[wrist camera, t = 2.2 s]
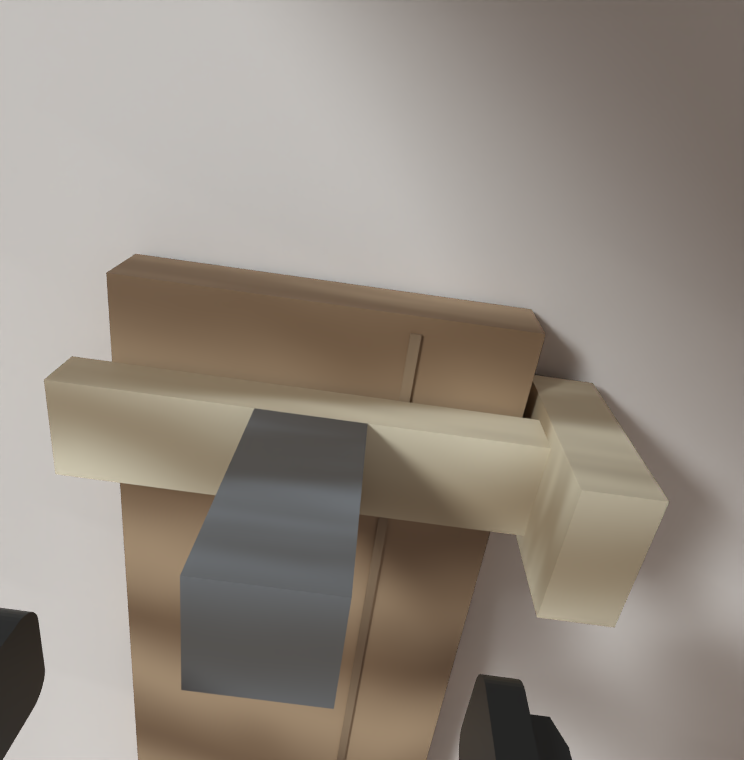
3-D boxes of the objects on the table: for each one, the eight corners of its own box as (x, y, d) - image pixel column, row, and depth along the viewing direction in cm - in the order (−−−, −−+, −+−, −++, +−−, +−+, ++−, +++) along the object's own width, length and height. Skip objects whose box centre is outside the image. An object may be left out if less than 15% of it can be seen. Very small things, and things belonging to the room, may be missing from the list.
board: (135, 253, 18) (104, 273, 16) (531, 309, 18) (546, 335, 16) (157, 775, 30) (141, 822, 28) (400, 804, 30) (400, 853, 28)
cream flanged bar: (101, 315, 19) (-149, 510, 10) (592, 383, 19) (750, 627, 10) (109, 425, 20) (-98, 672, 12) (558, 486, 21) (669, 766, 12)
